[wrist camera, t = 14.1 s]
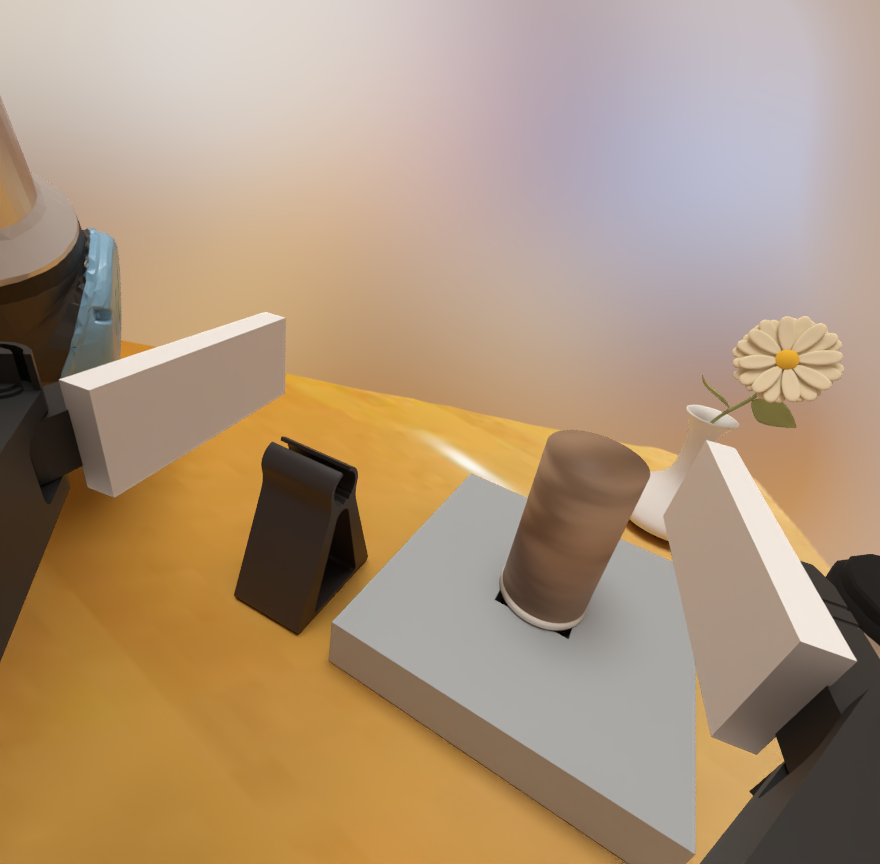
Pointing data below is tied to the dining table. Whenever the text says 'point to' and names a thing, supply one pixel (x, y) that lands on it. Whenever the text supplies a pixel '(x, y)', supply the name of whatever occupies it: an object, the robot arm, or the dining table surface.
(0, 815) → the dining table surface
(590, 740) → the slate board
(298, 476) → the phone stand
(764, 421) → the flower in vase
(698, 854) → the dining table surface
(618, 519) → the walnut peg
